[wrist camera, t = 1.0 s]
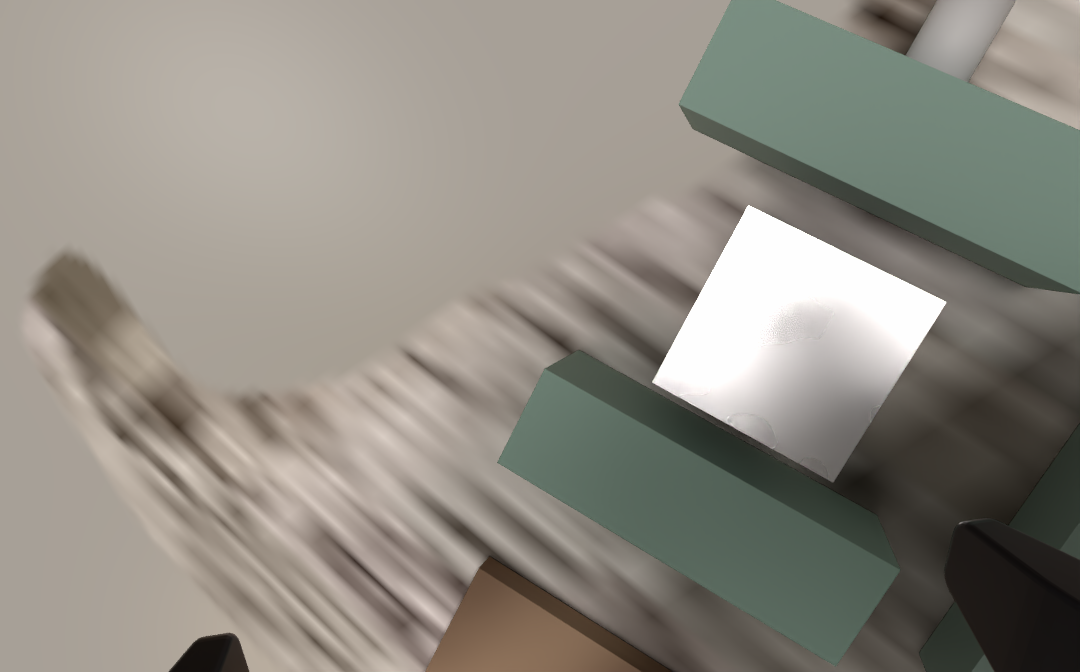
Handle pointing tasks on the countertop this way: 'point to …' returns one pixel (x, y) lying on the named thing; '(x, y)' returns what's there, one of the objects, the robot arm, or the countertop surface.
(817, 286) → the steel block
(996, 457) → the countertop surface
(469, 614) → the copper plate
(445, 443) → the countertop surface
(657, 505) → the vise
